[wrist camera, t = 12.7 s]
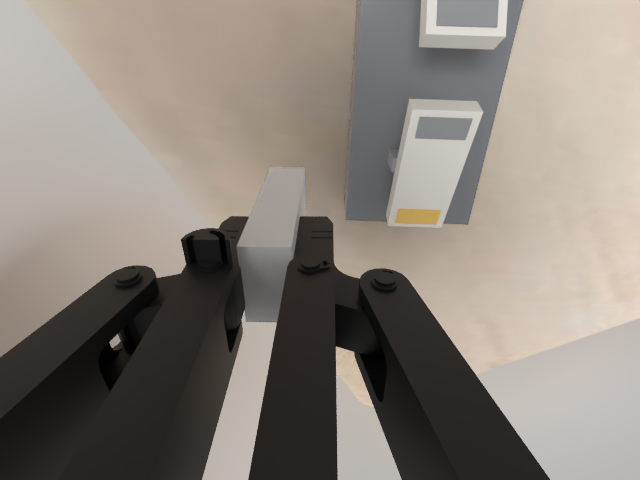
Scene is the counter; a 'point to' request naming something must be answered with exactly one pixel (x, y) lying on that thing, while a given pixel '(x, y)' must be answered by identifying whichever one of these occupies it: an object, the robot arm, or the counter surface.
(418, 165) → the rocker
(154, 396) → the robot arm
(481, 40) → the rocker
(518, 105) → the counter surface
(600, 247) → the counter surface
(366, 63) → the switch unit
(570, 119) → the counter surface
